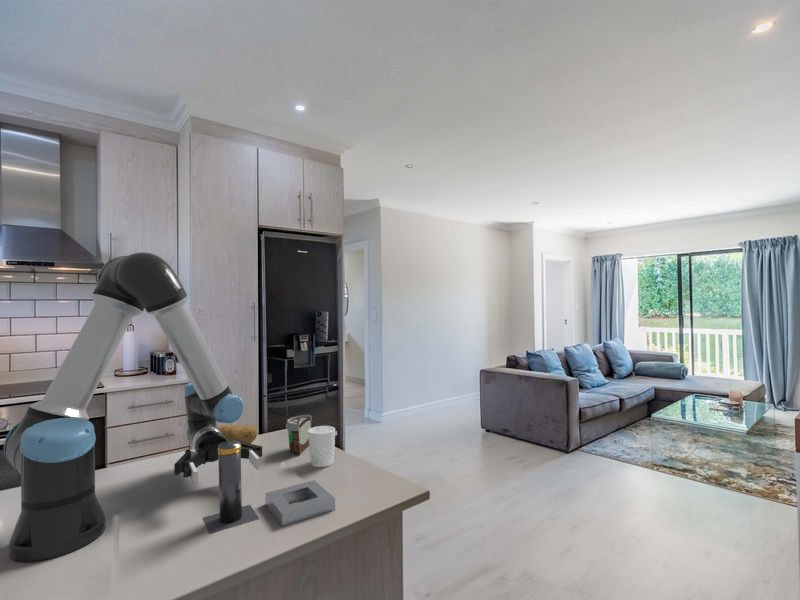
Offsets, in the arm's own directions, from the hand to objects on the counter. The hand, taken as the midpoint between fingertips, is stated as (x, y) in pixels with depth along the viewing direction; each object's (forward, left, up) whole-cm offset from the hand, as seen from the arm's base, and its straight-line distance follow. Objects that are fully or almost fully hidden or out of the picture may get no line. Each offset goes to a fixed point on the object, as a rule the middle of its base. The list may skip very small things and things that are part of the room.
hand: (228, 470), depth 96 cm
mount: (-1, -7, -9) cm, 11 cm away
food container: (+27, +29, -9) cm, 41 cm away
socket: (+13, -11, -9) cm, 19 cm away
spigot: (-1, -7, -8) cm, 10 cm away
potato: (+11, +42, -9) cm, 45 cm away
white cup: (+29, +13, -9) cm, 33 cm away
